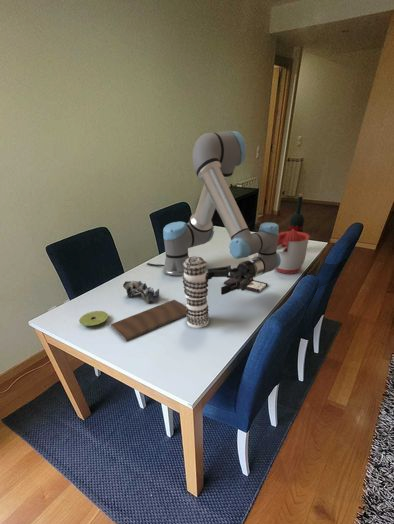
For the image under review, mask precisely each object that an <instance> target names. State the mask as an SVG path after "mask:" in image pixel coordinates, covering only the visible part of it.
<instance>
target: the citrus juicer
mask: <svg viewBox="0 0 394 524" xmlns="http://www.w3.org/2000/svg"><path fill="white" fill-rule="evenodd" d="M278 234H279V236H278V242H277V250H276V252H277V253H278V254H279V255H280V259H281V262H280V265H279V266H278V267H277V268H276V269H275V270H276V271H277V272H278V273H281V274H287V275H292V274H296V273H298V272H300V270H301V269H302V267H303V265H304V262H305V260H306V255H307V250H308V244H309V239H310V238H311V237H310V234H309V233H307V232H303V231H302V232H296V231H295V230H294V229H292V230H291V231H288V230H287V231H281V232H279V233H278Z"/></svg>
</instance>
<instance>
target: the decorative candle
mask: <svg viewBox="0 0 394 524" xmlns="http://www.w3.org/2000/svg"><path fill="white" fill-rule="evenodd" d="M183 265H184V275H182V276H181V279H182V284H183V289H184V290H183V292H184V297H185V299H186V302H185V303H186V304H185V306H186V313H187V315H186V316H185V317H186V321H187V322H186V323H187V325H188V326H189V327H190V328H204V327H206V326H207V325H208V324H209V322H210V321H209V318H210V317H209V314H210V313H209V304H208V298H207V297H208V296H209V289H208V287H209V284H208V283H209V280H207V279H206V278H208V276H209V275H208V274H207V273H208V272H207V269H206V267H207V266H206V265H207V261H206V260H204V258H203V257H201V256H190V257H189V258H188V259H186V261H185V262H184V263H183Z"/></svg>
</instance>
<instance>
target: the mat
mask: <svg viewBox="0 0 394 524" xmlns="http://www.w3.org/2000/svg"><path fill="white" fill-rule="evenodd" d="M108 317H109V314H108V313H107V312H106V311H103V310H95V311H90V312H89V311H88V312H87V313H85V314H83V315H81V316H80V318H79V320H78V322H79V323H80V324H81V325H82V326H88V327H89V326H90V327H91V326H96V325H100V324H102V323H104V322H105V321H106V320H107V319H108Z"/></svg>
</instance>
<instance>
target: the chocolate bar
mask: <svg viewBox="0 0 394 524" xmlns="http://www.w3.org/2000/svg"><path fill="white" fill-rule="evenodd" d="M233 282H236V284H237V279H234V278H227V279H226V280H225V281H224V282H223V284H224V285H228V284H231V283H233ZM242 282H243V280H242V281H241V284H242ZM267 286H268V283H267V282H264V281H260V280H255V279H253V281H252V282H250V283H249V285H248V286H247V287H246V289H245V290H246V291H250V292H255V293H260V292H261V291H262V290H263V289H264V288H266V287H267Z"/></svg>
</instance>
